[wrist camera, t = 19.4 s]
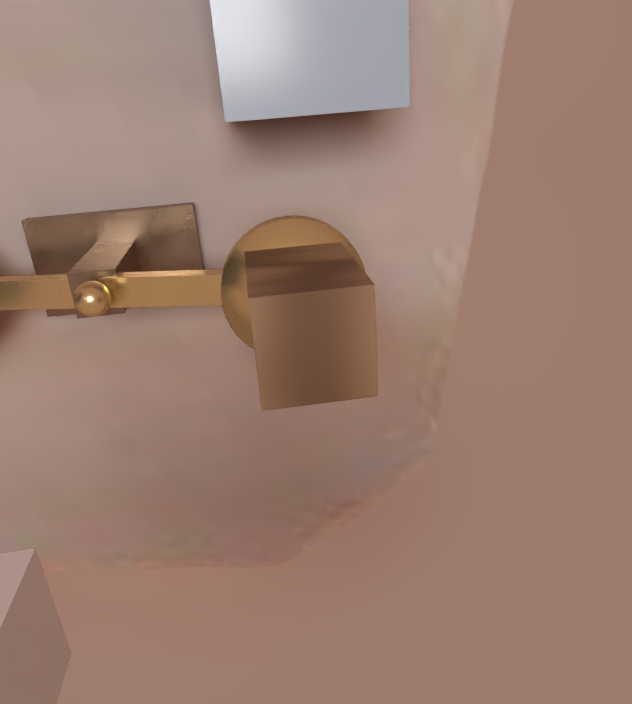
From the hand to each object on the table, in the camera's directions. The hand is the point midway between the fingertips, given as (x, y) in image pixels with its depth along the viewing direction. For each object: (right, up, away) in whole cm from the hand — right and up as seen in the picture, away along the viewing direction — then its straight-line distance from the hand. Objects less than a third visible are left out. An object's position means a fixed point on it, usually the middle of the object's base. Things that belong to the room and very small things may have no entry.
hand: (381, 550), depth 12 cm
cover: (-3, +22, +22) cm, 31 cm away
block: (-2, +7, +16) cm, 18 cm away
